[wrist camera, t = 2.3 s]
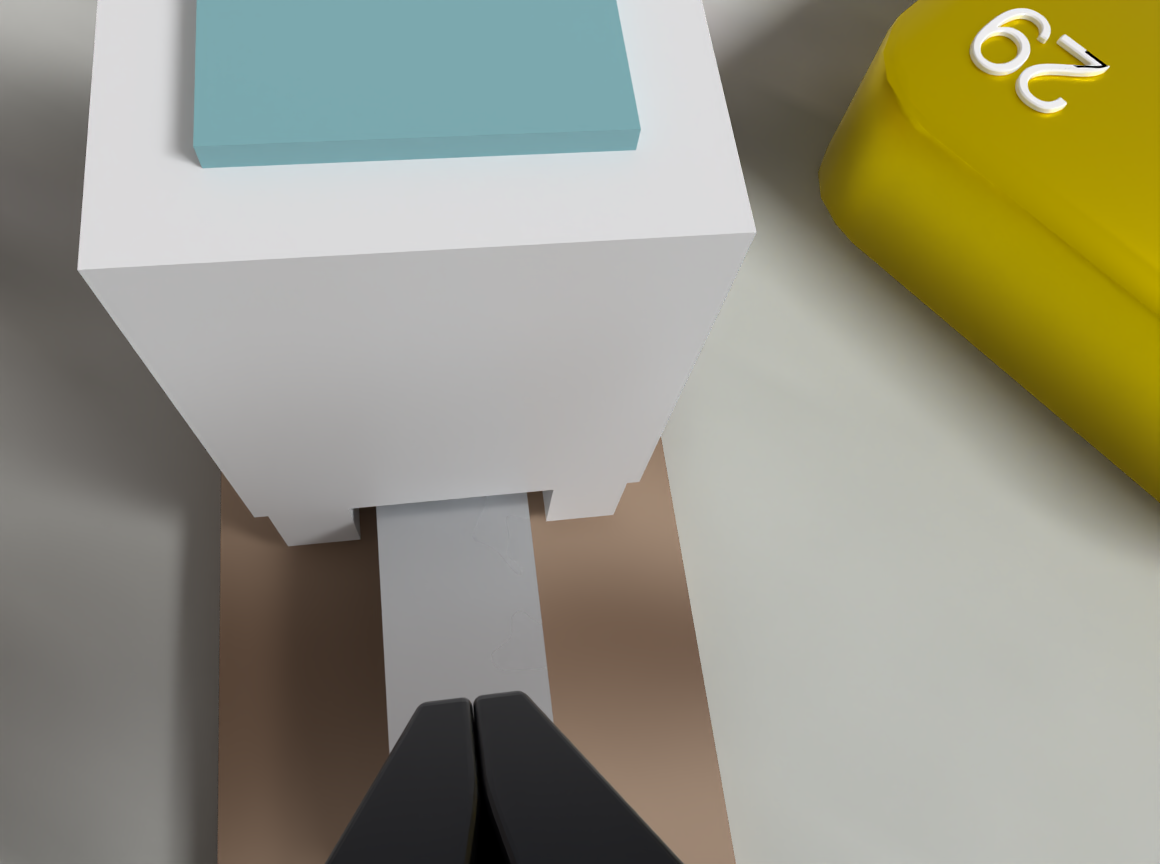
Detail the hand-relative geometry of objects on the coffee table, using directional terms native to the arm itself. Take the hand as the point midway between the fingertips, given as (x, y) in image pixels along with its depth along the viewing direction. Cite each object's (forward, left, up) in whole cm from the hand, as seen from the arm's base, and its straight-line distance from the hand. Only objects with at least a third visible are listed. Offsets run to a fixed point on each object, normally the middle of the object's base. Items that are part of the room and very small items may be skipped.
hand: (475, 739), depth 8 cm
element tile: (+18, -11, -10) cm, 23 cm away
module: (+6, +3, -8) cm, 10 cm away
